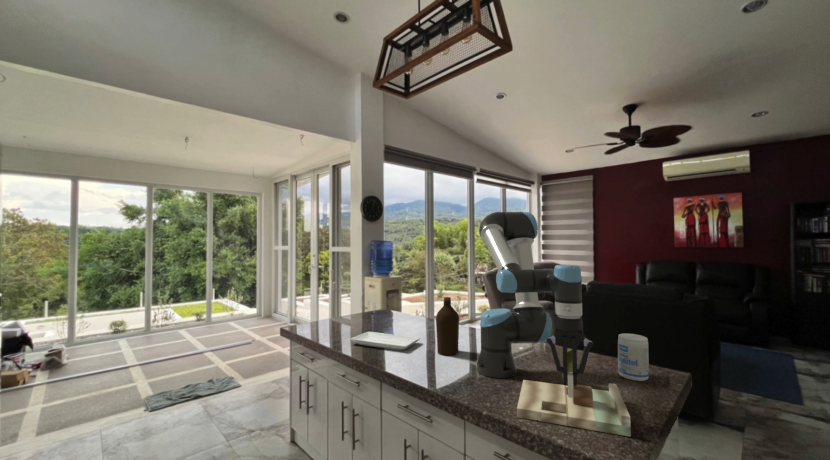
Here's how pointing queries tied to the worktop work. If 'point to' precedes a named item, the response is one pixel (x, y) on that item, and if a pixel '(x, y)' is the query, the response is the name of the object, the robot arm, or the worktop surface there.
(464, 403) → the worktop surface
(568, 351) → the fennel bulb
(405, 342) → the tray
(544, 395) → the board
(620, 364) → the supplement tub
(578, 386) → the block
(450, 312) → the olive oil
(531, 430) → the worktop surface
